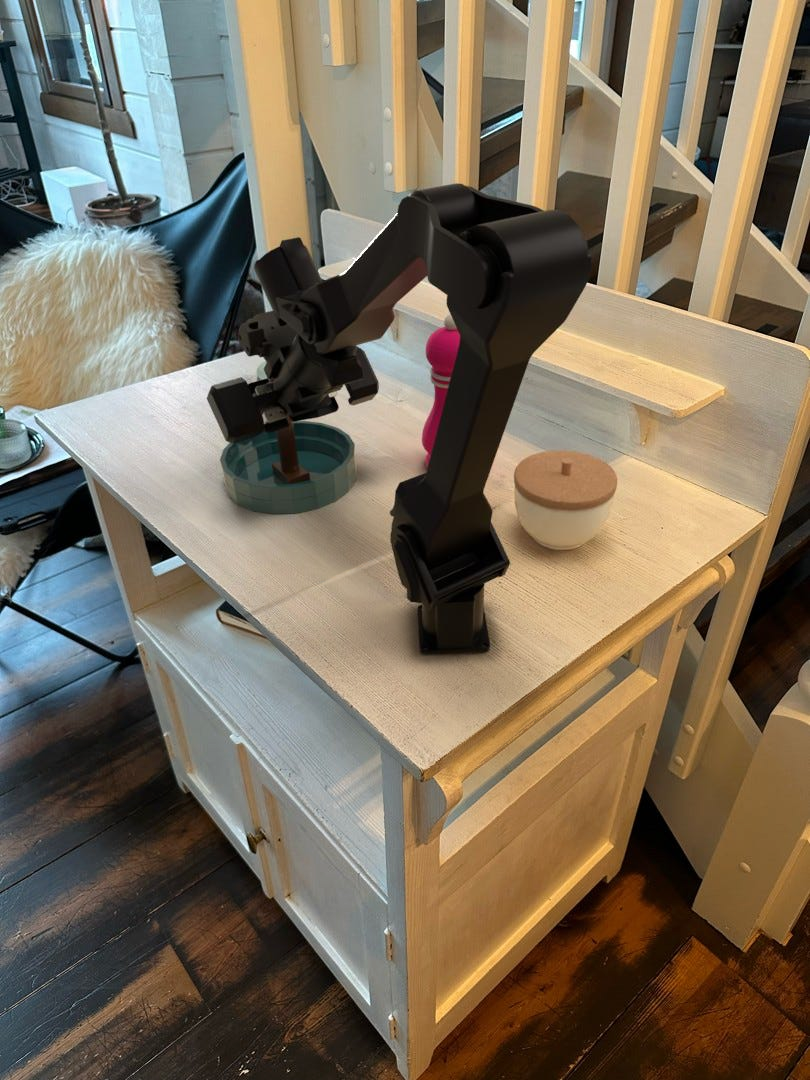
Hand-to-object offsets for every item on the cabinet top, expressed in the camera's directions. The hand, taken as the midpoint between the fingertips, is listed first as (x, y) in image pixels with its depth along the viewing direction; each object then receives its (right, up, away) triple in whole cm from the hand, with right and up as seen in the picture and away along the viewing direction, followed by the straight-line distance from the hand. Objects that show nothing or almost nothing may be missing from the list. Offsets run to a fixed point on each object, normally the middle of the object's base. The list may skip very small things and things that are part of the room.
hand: (279, 421), depth 91 cm
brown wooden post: (+1, -7, +3) cm, 7 cm away
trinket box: (+32, -14, -6) cm, 36 cm away
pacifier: (-6, +10, +28) cm, 30 cm away
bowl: (+1, -7, +4) cm, 8 cm away
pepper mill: (+21, -5, +6) cm, 22 cm away
